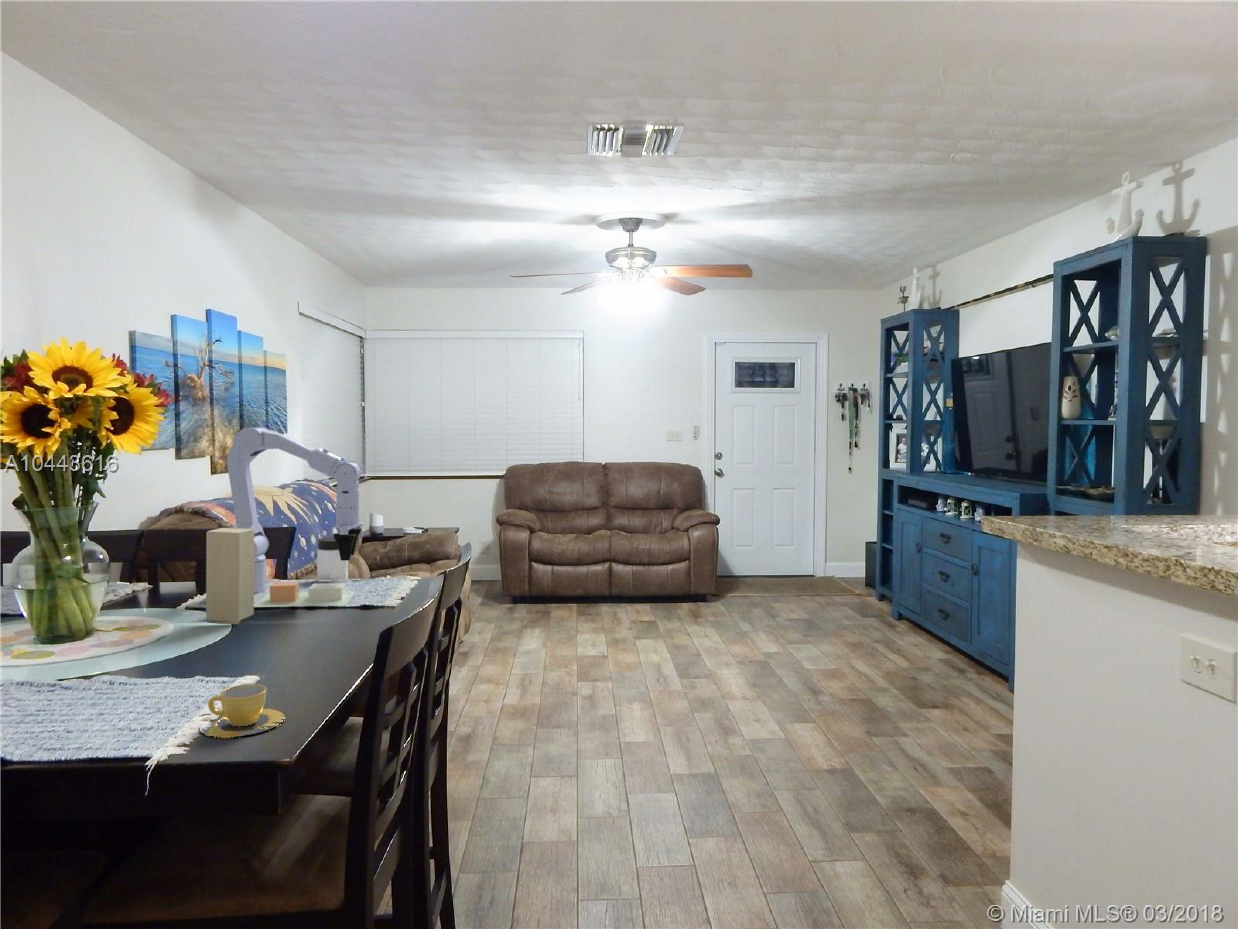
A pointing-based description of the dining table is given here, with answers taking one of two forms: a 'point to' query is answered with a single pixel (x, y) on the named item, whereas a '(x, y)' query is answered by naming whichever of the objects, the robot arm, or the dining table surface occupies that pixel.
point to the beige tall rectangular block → (229, 575)
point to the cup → (242, 709)
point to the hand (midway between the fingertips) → (347, 557)
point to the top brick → (284, 592)
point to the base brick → (327, 591)
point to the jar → (330, 561)
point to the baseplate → (304, 601)
